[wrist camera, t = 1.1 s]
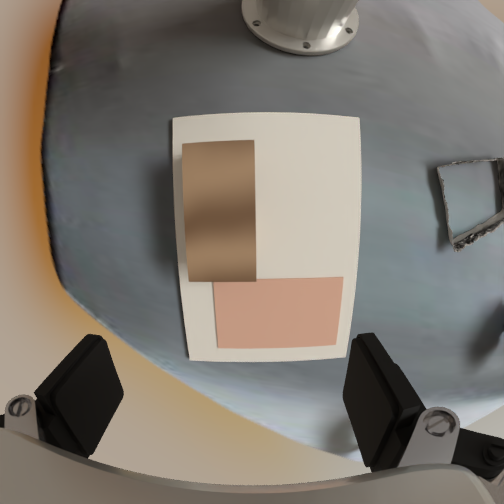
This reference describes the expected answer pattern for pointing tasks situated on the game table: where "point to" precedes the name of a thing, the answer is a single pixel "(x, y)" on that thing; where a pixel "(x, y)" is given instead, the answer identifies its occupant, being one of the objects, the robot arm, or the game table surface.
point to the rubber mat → (281, 240)
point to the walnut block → (220, 210)
